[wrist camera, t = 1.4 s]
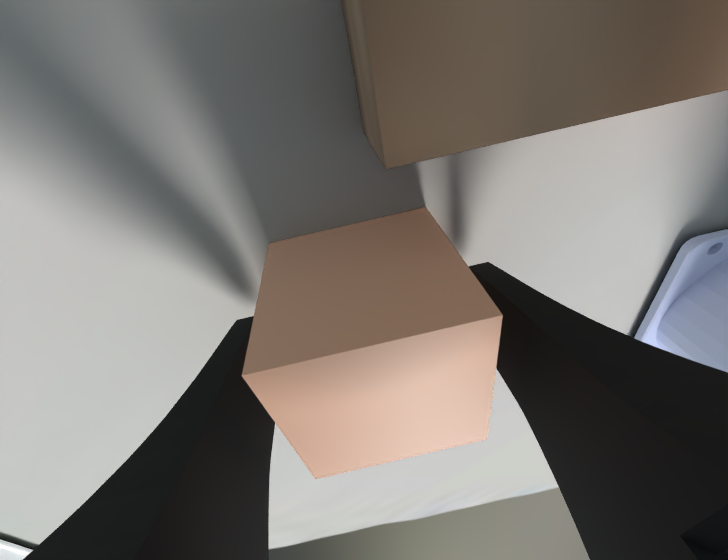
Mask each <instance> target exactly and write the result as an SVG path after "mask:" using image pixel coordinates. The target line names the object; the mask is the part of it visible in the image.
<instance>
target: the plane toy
mask: <svg viewBox="0 0 728 560" xmlns="http://www.w3.org/2000/svg"><path fill="white" fill-rule="evenodd" d="M32 551H33V550H31V549H28V548H25V547H22V546H19V545H16V544H13V543H10V542H7V541H4V540H1V539H0V560H23V559H24V558H25V557H26V556H27V555H28V554H29V553H31V552H32Z"/></svg>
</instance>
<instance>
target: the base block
mask: <svg viewBox="0 0 728 560" xmlns="http://www.w3.org/2000/svg"><path fill="white" fill-rule="evenodd" d="M341 1H342V7H343V12H344V18H345V24H346V30H347V36H348V42H349V47H350V53H351V59H352V65H353V71H354V77H355V82H356V88H357V94H358V100H359V106H360V111H361V117H362V123H363V129H364V134H365V135H366V137H367V139H368V140H369V142H370V144H371V145H372V147H373V149H374V150H375V152H376V154H377V155H378V157H379V159H380V160H381V162H382V164H383V166H384V167H385V169H390V168H394V167H399V166H403V165H407V164H412V163H416V162H420V161H424V160H429V159H433V158H437V157H442V156H446V155H450V154H454V153H459V152H463V151H467V150H472V149H476V148H480V147H484V146H489V145H493V144H497V143H502V142H506V141H510V140H515V139H519V138H523V137H527V136H532V135H536V134H540V133H545V132H549V131H553V130H557V129H562V128H566V127H570V126H575V125H579V124H583V123H588V122H592V121H596V120H600V119H605V118H609V117H613V116H618V115H622V114H626V113H630V112H635V111H639V110H643V109H648V108H652V107H656V106H661V105H665V104H669V103H673V102H678V101H682V100H686V99H691V98H695V97H699V96H703V95H708V94H712V93H716V92H721V91H725V90H728V0H341Z"/></svg>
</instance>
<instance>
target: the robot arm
mask: <svg viewBox="0 0 728 560" xmlns="http://www.w3.org/2000/svg"><path fill="white" fill-rule="evenodd" d="M469 268H470V270H471V271H472V273H473V274H474V275H475V277H476V278H477V280H478V281H479V282H480V284H481V285H482V287H483V288H484V289H485V291H486V292H487V294H488V295H489V296H490V298H491V299H492V301H493V302H494V303H495V305H496V306H497V308H498V309H499V310H500V312H501V313H502V315H503V317H502V325H501V333H500V341H499V349H498V358H497V366H496V368H497V370H498V371H499V373H500V375H501V376H502V378H503V379H504V381H505V383H506V384H507V386H508V388H509V389H510V391H511V392H512V394H513V396H514V397H515V399H516V401H517V402H518V404H519V406H520V408H521V409H522V411H523V413H524V415H525V417H526V419H527V421H528V423H529V425H530V427H531V429H532V431H533V433H534V435H535V437H536V439H537V441H538V443H539V445H540V447H541V449H542V451H543V454H544V456H545V458H546V460H547V462H548V464H549V466H550V469H551V471H552V473H553V475H554V477H555V479H556V481H557V484H558V486H559V488H560V490H561V493H562V494H563V497H564V499H565V502H566V504H567V506H568V508H569V511H570V513H571V515H572V518H573V520H574V522H575V524H576V527H577V529H578V531H579V534H580V536H581V539H582V541H583V544H584V546H585V548H586V551H587V553H588V556H589V558H590V560H728V229H725V230H721V231H717V232H712V233H708V234H704V235H699V236H696V237H693V238H691V239H690V240H688V241H686V242H685V243H684V244H683V245H682V247H681V248H680V250H679V252H678V253H677V255H676V257H675V259H674V261H673V263H672V265H671V267H670V269H669V271H668V273H667V275H666V277H665V279H664V281H663V283H662V285H661V286H660V288H659V290H658V292H657V294H656V296H655V298H654V300H653V302H652V304H651V306H650V308H649V310H648V312H647V314H646V316H645V318H644V319H643V321H642V323H641V325H640V327H639V329H638V331H637V333H636V335H635V337H634V338H632V337H630V336H628V335H625V334H623V333H621V332H618V331H616V330H614V329H611V328H609V327H607V326H604V325H602V324H600V323H598V322H596V321H594V320H592V319H590V318H588V317H586V316H584V315H582V314H580V313H578V312H576V311H574V310H572V309H570V308H568V307H566V306H564V305H562V304H560V303H558V302H556V301H554V300H553V299H551V298H549V297H547V296H545V295H544V294H542V293H540V292H538V291H537V290H535V289H533V288H531V287H530V286H528V285H526V284H525V283H523V282H521V281H520V280H518V279H516V278H514V277H513V276H511V275H509V274H508V273H506V272H504V271H503V270H501V269H499V268H498V267H496V266H494V265H493V264H491V263H489V262H486V263H482V264H477V265H473V266H469ZM253 318H254V316H252V317H248V318H244V319H239V320H237V321H236V322H235V323H234V325H233V326H232V327H231V329H230V330H229V332H228V333H227V334H226V336H225V337H224V339H223V340H222V342H221V343H220V344H219V346H218V347H217V349H216V350H215V352H214V353H213V354H212V356H211V357H210V359H209V360H208V361H207V363H206V364H205V366H204V367H203V368H202V370H201V371H200V373H199V374H198V375H197V377H196V378H195V380H194V381H193V382H192V383H191V385H190V386H189V387H188V389H187V390H186V391H185V392H184V394H183V395H182V396H181V398H180V399H179V400H178V401H177V403H176V404H175V405H174V407H173V408H172V409H171V410H170V412H169V413H168V414H167V415H166V417H165V418H164V419H163V420H162V421H161V423H160V424H159V425H158V426H157V427H156V428H155V430H154V431H153V432H152V433H151V434H150V435H149V436H148V438H147V439H146V440H145V441H144V442H143V443H142V444H141V445H140V446H139V448H138V449H137V450H136V451H135V452H134V453H133V454H132V455H131V456H130V457H129V458H128V459H127V461H126V462H125V463H124V464H123V465H122V466H121V467H120V468H119V469H118V470H117V471H116V472H115V473H114V474H113V475H112V476H111V477H110V478H109V479H108V480H107V481H106V482H105V483H104V484H103V485H102V486H101V487H100V488H99V489H98V490H97V491H96V492H95V493H94V494H93V495H92V496H91V497H90V498H89V499H88V500H87V501H86V502H85V503H84V504H83V505H82V506H81V507H80V508H79V509H77V510H76V511H75V512H74V513H73V514H72V515H71V516H70V517H69V518H68V519H67V520H66V521H65V522H64V523H63V524H62V525H60V526H59V527H58V528H57V529H56V530H55V531H54V532H53V533H52V534H51V535H49V536H48V537H47V538H46V539H45V540H44V541H43V542H42V543H41V544H40V545H38V546H37V547H36V548H35V549H34V550H33V551H32V552H31V553H29V554H28V555H27V556H26V557H25V558H24V559H23V560H269V557H268V509H269V473H270V460H271V451H272V443H273V435H274V427H275V422H274V420H273V419H272V418H271V416H270V415H269V413H268V412H267V411H266V409H265V408H264V406H263V405H262V404H261V402H260V401H259V399H258V398H257V397H256V395H255V394H254V392H253V391H252V390H251V388H250V387H249V385H248V384H247V383H246V381H245V380H244V378H243V377H242V372H243V367H244V362H245V357H246V352H247V348H248V343H249V338H250V333H251V328H252V323H253Z"/></svg>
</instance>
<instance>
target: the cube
mask: <svg viewBox="0 0 728 560" xmlns="http://www.w3.org/2000/svg"><path fill="white" fill-rule="evenodd" d="M502 317H503V315H502V313H501V312H500V310H499V309H498V308H497V306H496V305H495V303H494V302H493V301H492V299H491V298H490V296H489V295H488V294H487V292H486V291H485V289H484V288H483V287H482V285H481V284H480V282H479V281H478V280H477V278H476V277H475V275H474V274H473V273H472V271H471V270H470V268H469V267H468V266H467V264H466V263H465V261H464V260H463V259H462V257H461V256H460V254H459V253H458V251H457V250H456V249H455V247H454V246H453V244H452V243H451V242H450V240H449V239H448V237H447V236H446V235H445V233H444V232H443V230H442V229H441V228H440V226H439V225H438V223H437V222H436V221H435V219H434V218H433V216H432V215H431V214H430V212H429V211H428V209H427V208H426V207H423V208H419V209H415V210H411V211H406V212H402V213H398V214H393V215H389V216H385V217H380V218H376V219H372V220H367V221H363V222H359V223H354V224H350V225H346V226H342V227H337V228H333V229H329V230H324V231H320V232H316V233H311V234H307V235H303V236H298V237H294V238H290V239H285V240H281V241H277V242H273V243H269V245H268V250H267V255H266V260H265V265H264V270H263V274H262V279H261V284H260V289H259V294H258V299H257V304H256V309H255V313H254V318H253V323H252V328H251V333H250V338H249V343H248V348H247V352H246V357H245V362H244V367H243V372H242V377H243V378H244V380H245V381H246V383H247V384H248V385H249V387H250V388H251V390H252V391H253V392H254V394H255V395H256V397H257V398H258V399H259V401H260V402H261V404H262V405H263V406H264V408H265V409H266V411H267V412H268V413H269V415H270V416H271V418H272V419H273V420H274V422H275V423H276V425H277V426H278V427H279V429H280V430H281V432H282V433H283V434H284V436H285V437H286V439H287V440H288V441H289V443H290V444H291V446H292V447H293V448H294V450H295V451H296V453H297V454H298V455H299V457H300V458H301V460H302V461H303V462H304V464H305V465H306V467H307V468H308V469H309V471H310V472H311V474H312V475H313V476H314V478H315V479H318V478H322V477H327V476H331V475H335V474H340V473H344V472H348V471H353V470H357V469H361V468H366V467H370V466H374V465H379V464H383V463H387V462H392V461H396V460H400V459H405V458H409V457H413V456H417V455H422V454H426V453H430V452H435V451H439V450H443V449H448V448H452V447H456V446H461V445H465V444H469V443H474V442H478V441H482V440H487V438H488V430H489V422H490V414H491V406H492V398H493V390H494V382H495V374H496V366H497V358H498V349H499V341H500V333H501V325H502Z"/></svg>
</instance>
